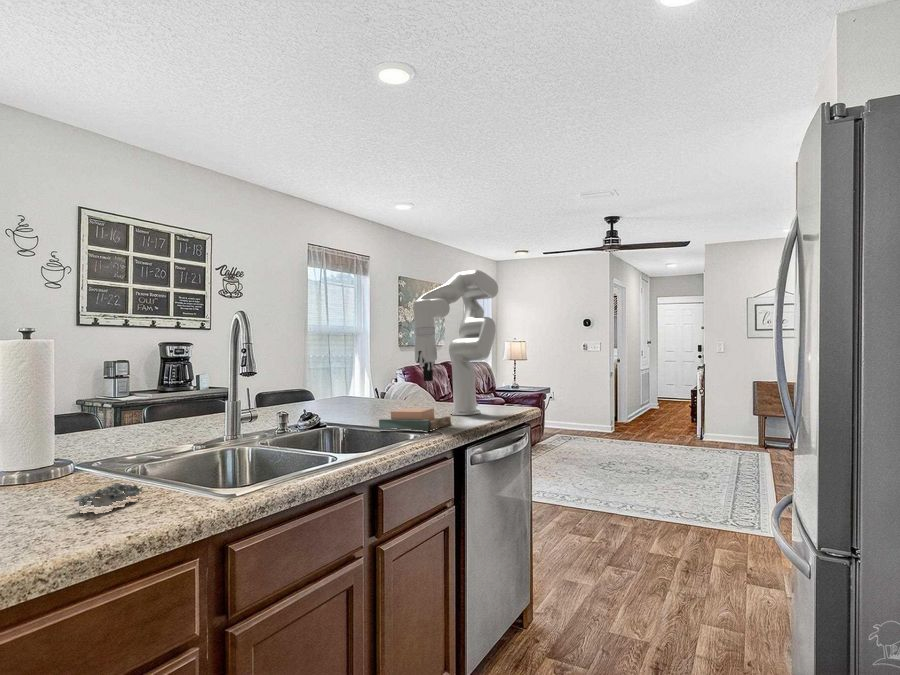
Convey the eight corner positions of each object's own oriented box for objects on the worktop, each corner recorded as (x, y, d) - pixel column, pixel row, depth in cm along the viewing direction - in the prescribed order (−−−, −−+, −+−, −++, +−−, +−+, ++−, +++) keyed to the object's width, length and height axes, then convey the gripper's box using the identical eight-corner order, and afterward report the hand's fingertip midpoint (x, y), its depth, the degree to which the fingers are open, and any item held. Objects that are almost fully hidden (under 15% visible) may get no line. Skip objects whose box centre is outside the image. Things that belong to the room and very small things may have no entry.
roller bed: (405, 423, 207) (405, 412, 207) (451, 424, 199) (450, 413, 199) (378, 431, 190) (378, 419, 190) (427, 432, 182) (427, 420, 182)
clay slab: (405, 418, 200) (404, 408, 200) (434, 419, 195) (433, 408, 195) (391, 422, 191) (390, 411, 191) (421, 423, 186) (420, 411, 186)
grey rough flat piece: (101, 517, 101) (100, 495, 101) (70, 515, 103) (69, 493, 103) (147, 500, 112) (146, 480, 112) (118, 499, 114) (117, 479, 114)
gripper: (425, 331, 213) (428, 378, 213) (406, 333, 199) (410, 383, 200) (442, 330, 210) (445, 378, 210) (424, 332, 196) (428, 383, 197)
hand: (428, 380), depth 205 cm, fingers closed
